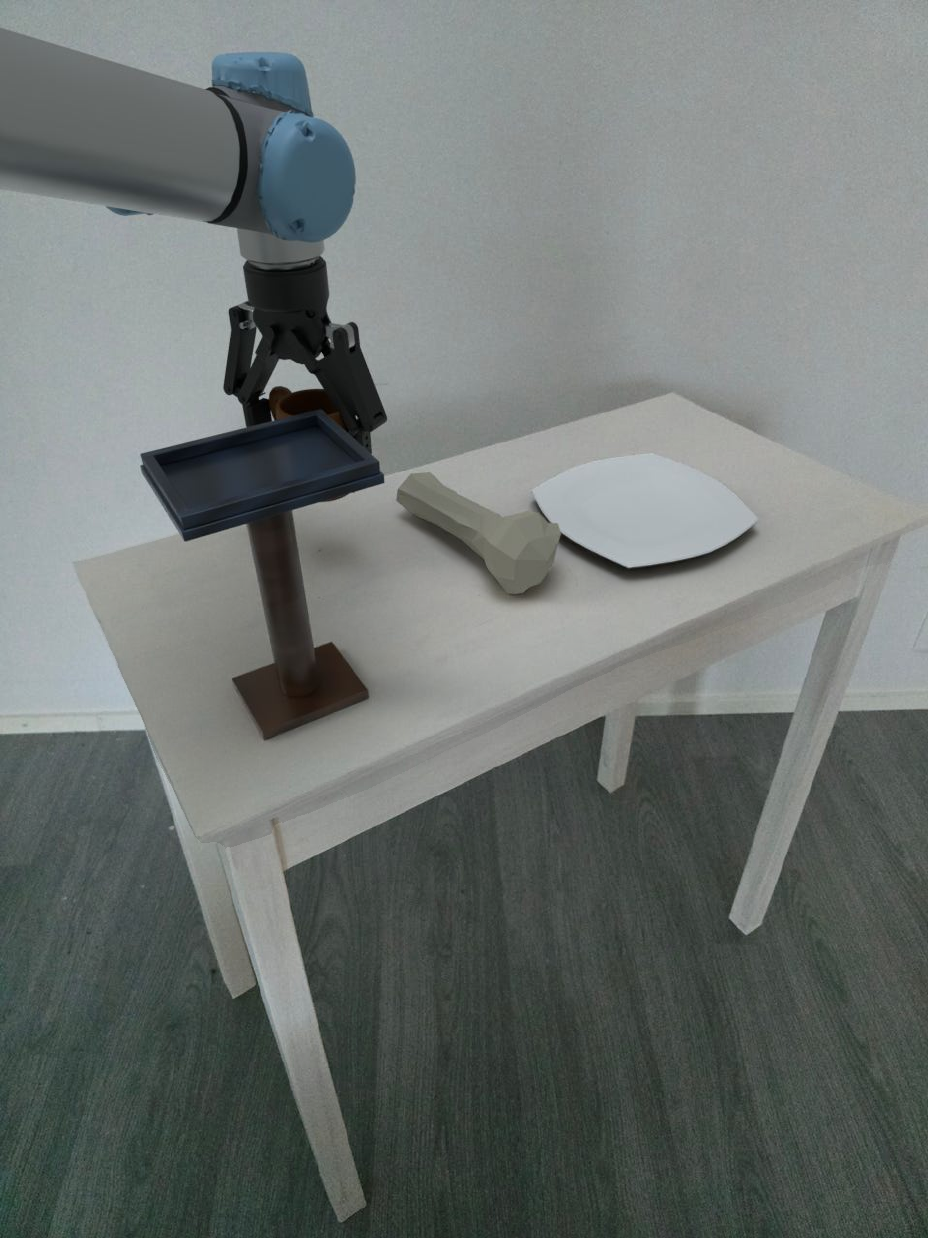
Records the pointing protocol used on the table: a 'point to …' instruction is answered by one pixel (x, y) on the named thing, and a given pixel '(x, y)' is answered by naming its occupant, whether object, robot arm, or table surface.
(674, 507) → the plate
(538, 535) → the faceted club
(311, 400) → the mug
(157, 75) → the robot arm
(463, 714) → the table surface
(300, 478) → the pedestal tray stand
